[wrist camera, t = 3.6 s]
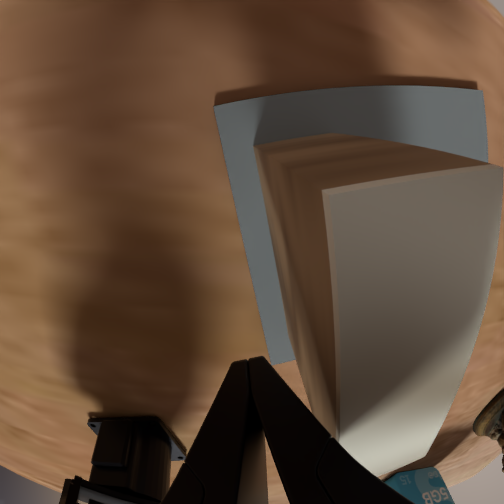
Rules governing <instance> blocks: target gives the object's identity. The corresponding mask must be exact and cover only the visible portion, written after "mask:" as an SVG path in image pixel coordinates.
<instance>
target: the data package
mask: <svg viewBox="0 0 504 504" xmlns="http://www.w3.org/2000/svg"><path fill="white" fill-rule="evenodd" d="M384 483H386V484H387V485H389V486H390V487H391V488H393V489H394V490H396V491H397V492H398V493H400V494H401V495H403V496H404V497H406V498H407V499H409V500H410V501H412V502H413V503H415V504H455V503H454V501H453V499H452V497H451V495H450V493H449V491H448V489H447V487H446V485H445V483H444V481H443V479H442V477H441V475H440V473H439V471H438V470H437V469H436V468H434V467H428V468H423V469H417V470H411V471H405V472H399V473H397V474H395V475H394V476H392V477H391V478H389V479H388V480H387V481H385V482H384Z"/></svg>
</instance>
